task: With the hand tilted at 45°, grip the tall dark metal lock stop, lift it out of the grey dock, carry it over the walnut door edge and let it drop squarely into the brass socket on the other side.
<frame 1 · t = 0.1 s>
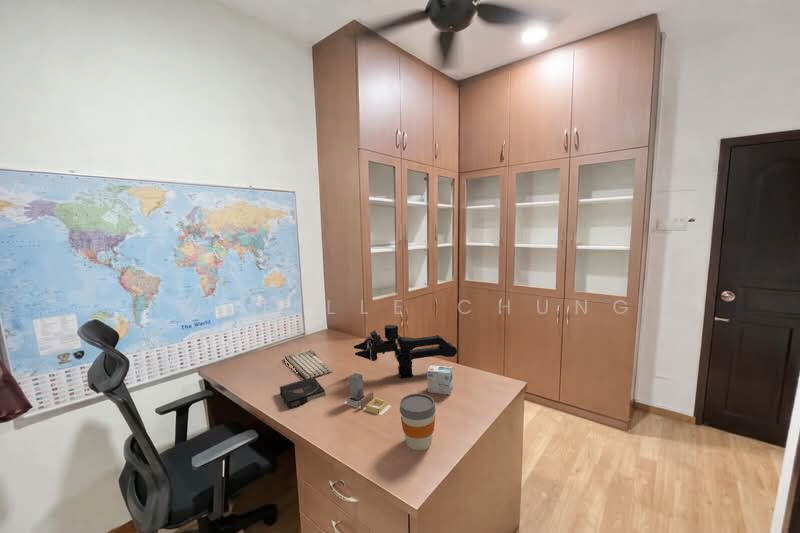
hand: (354, 350, 159), 17 cm above the table, tool horizontal, fingers open, 9 cm apart
portable cd player: (302, 397, 151), on the table
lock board: (366, 407, 138), on the table
lock stop: (357, 401, 141), point 1 cm above the table, touching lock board
light bulb box: (440, 390, 150), on the table
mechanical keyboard: (308, 366, 185), on the table
reusable coffee cup: (419, 442, 115), on the table
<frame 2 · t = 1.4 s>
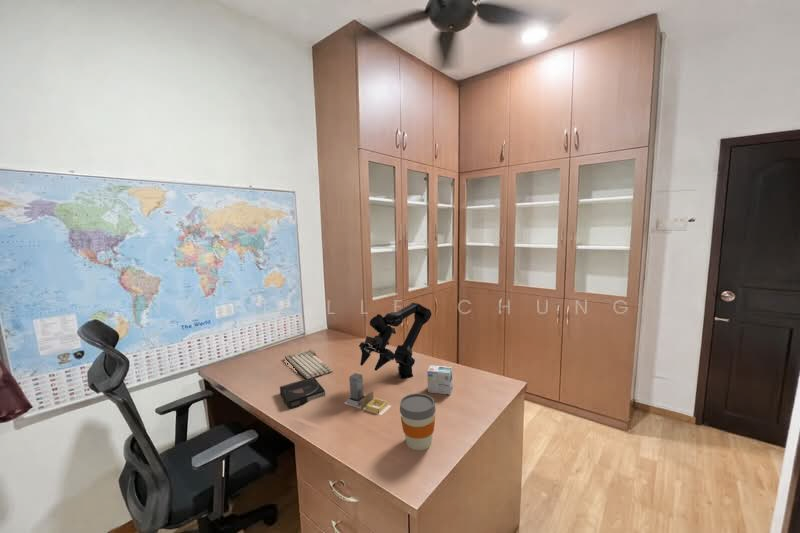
hand: (367, 367, 145), 14 cm above the table, tool tilted 45°, fingers open, 9 cm apart
nothing on the table moved.
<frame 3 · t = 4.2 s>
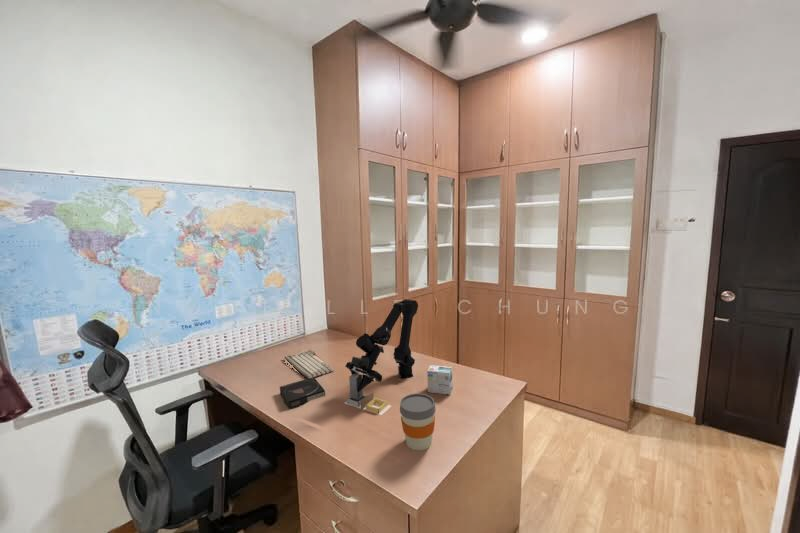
hand: (354, 390, 139), 7 cm above the table, tool tilted 45°, fingers closed on lock stop, 4 cm apart
lock stop: (357, 401, 141), point 1 cm above the table, touching gripper, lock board
everything else where it was.
when the fingers open (8 cm above the table, at t = 8.0 s): lock stop stays where it is, resting on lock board.
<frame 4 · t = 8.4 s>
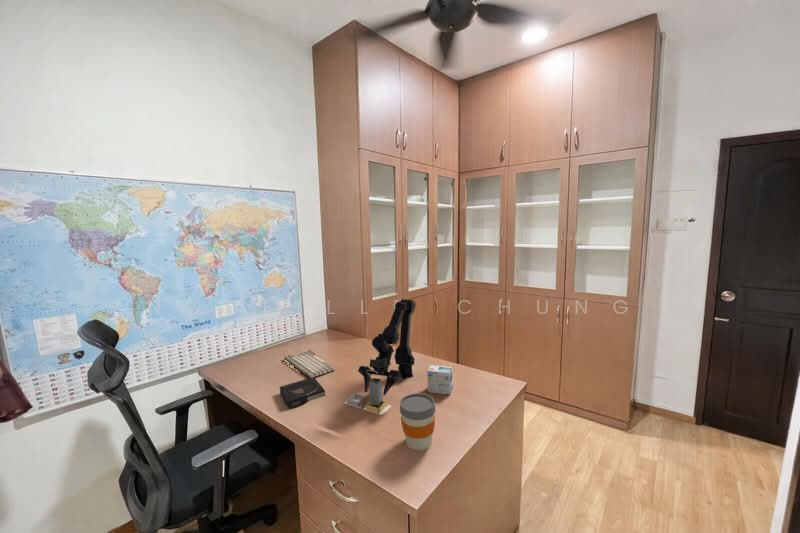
hand: (374, 393, 134), 8 cm above the table, tool tilted 45°, fingers open, 8 cm apart
lock stop: (376, 407, 136), point 1 cm above the table, touching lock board
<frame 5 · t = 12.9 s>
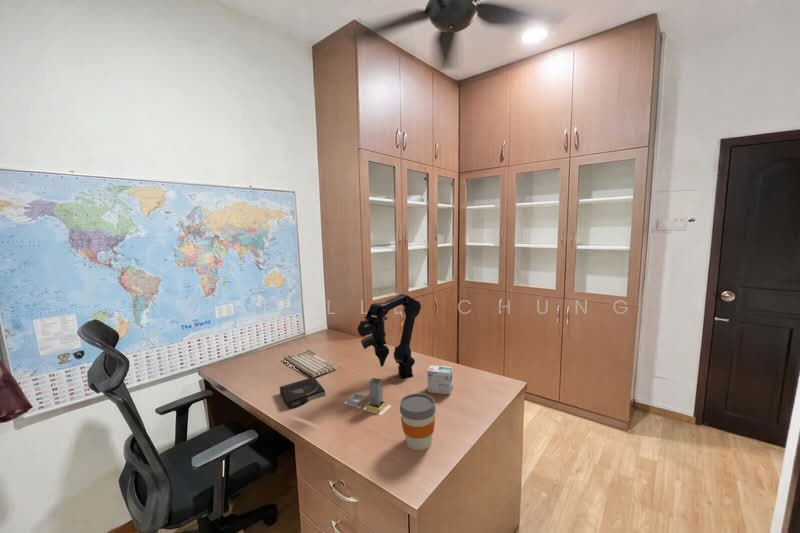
hand: (380, 362, 152), 13 cm above the table, tool pointing down, fingers open, 9 cm apart
at the end: lock stop 0.1 cm from the target spot on the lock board, point 1.0 cm above the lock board's base; lock stop tilted 0°; the gripper is holding nothing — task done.
